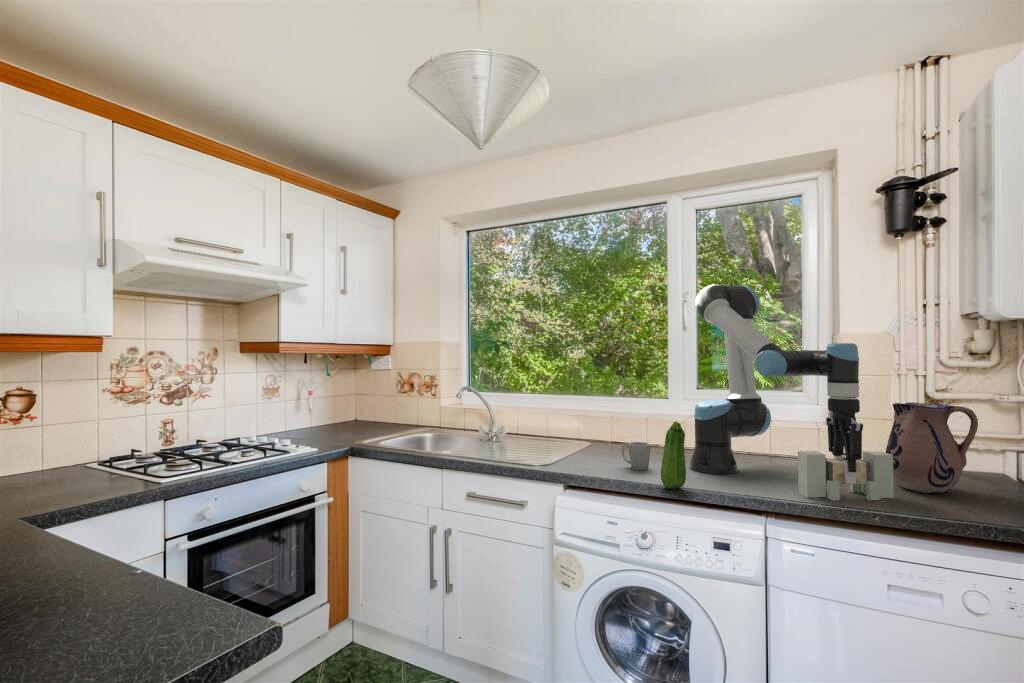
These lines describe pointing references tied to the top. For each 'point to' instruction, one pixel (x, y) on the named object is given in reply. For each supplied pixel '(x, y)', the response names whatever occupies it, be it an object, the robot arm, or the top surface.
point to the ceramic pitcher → (927, 446)
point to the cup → (638, 455)
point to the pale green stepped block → (815, 476)
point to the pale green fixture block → (877, 476)
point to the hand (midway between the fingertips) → (845, 481)
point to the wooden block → (837, 471)
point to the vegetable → (674, 458)
